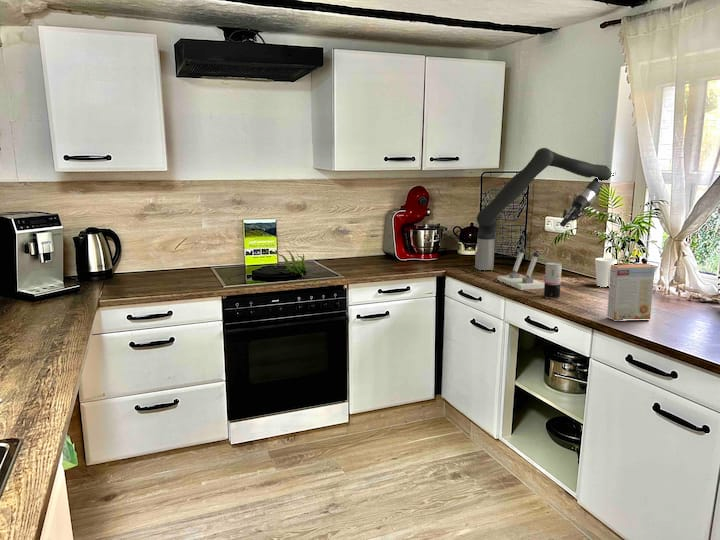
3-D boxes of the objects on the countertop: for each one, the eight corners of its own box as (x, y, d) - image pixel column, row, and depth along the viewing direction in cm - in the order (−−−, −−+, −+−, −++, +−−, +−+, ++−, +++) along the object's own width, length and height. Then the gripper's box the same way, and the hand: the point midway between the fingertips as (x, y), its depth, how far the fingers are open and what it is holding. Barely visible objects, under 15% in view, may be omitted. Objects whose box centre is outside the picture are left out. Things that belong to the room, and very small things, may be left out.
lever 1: (515, 273, 271) (524, 248, 270) (518, 274, 269) (527, 249, 267) (510, 271, 271) (519, 247, 269) (513, 272, 268) (522, 247, 267)
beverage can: (540, 296, 240) (542, 263, 237) (549, 294, 244) (551, 261, 241) (553, 299, 235) (555, 265, 232) (562, 297, 239) (564, 263, 236)
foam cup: (592, 287, 256) (594, 260, 254) (594, 283, 264) (596, 257, 262) (614, 289, 252) (616, 261, 249) (615, 285, 260) (617, 258, 257)
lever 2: (528, 277, 260) (537, 252, 259) (531, 279, 257) (541, 253, 256) (523, 276, 259) (533, 250, 258) (526, 277, 257) (536, 251, 255)
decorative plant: (302, 268, 310) (301, 242, 307) (307, 279, 282) (306, 250, 279) (270, 269, 307) (269, 243, 304) (272, 280, 278) (270, 252, 275)
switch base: (520, 278, 277) (520, 270, 276) (545, 288, 256) (545, 279, 255) (497, 280, 274) (497, 272, 273) (520, 289, 253) (521, 281, 252)
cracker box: (641, 316, 208) (646, 263, 204) (650, 321, 203) (656, 266, 198) (605, 317, 208) (610, 263, 204) (613, 322, 202) (618, 267, 198)
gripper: (571, 193, 275) (549, 219, 274) (589, 195, 263) (565, 221, 262) (580, 204, 277) (557, 229, 277) (597, 206, 265) (574, 232, 264)
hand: (561, 225), depth 269 cm, fingers closed
